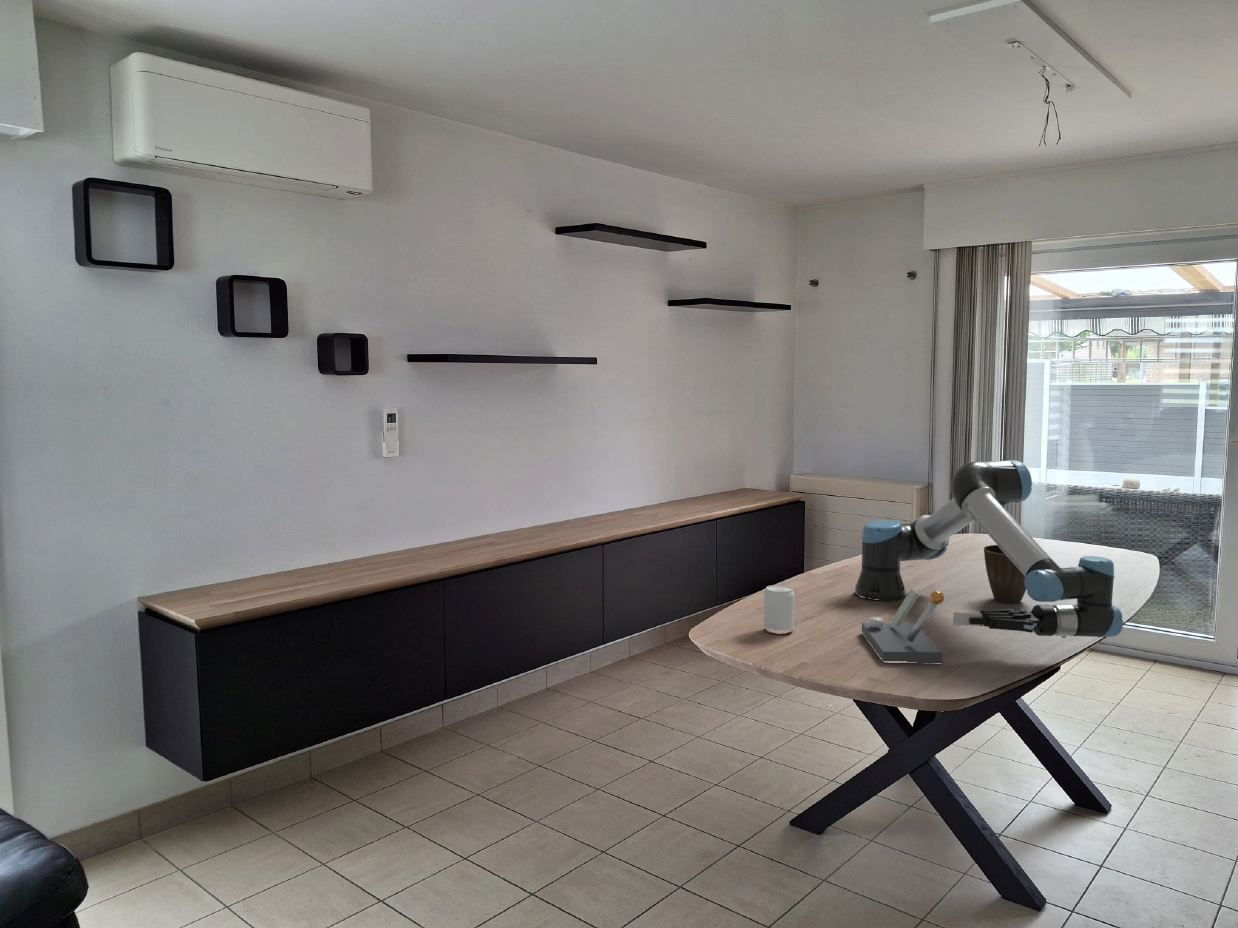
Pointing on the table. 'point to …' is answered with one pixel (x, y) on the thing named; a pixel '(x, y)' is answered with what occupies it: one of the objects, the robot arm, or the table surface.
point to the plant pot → (1003, 576)
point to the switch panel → (901, 644)
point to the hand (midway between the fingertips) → (954, 618)
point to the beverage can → (779, 607)
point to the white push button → (875, 622)
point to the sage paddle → (905, 607)
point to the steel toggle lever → (926, 614)
